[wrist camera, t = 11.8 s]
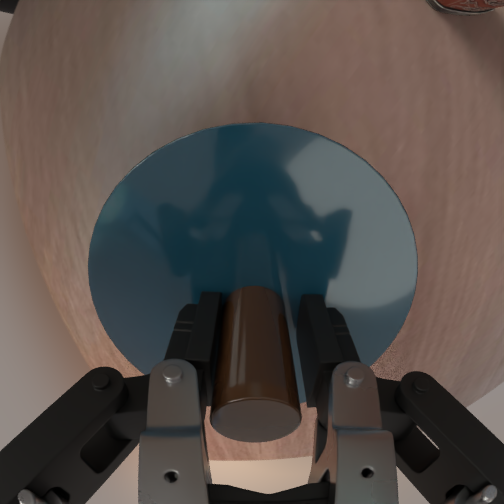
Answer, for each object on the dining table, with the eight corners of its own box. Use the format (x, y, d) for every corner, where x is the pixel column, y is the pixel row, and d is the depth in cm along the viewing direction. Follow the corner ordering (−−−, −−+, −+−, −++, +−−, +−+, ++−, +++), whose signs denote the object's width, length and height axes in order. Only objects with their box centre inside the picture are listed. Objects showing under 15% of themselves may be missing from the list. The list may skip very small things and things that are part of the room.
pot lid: (74, 323, 13) (20, 412, 8) (189, 54, 8) (115, -12, 3) (288, 415, 16) (296, 503, 11) (455, 246, 11) (538, 326, 6)
